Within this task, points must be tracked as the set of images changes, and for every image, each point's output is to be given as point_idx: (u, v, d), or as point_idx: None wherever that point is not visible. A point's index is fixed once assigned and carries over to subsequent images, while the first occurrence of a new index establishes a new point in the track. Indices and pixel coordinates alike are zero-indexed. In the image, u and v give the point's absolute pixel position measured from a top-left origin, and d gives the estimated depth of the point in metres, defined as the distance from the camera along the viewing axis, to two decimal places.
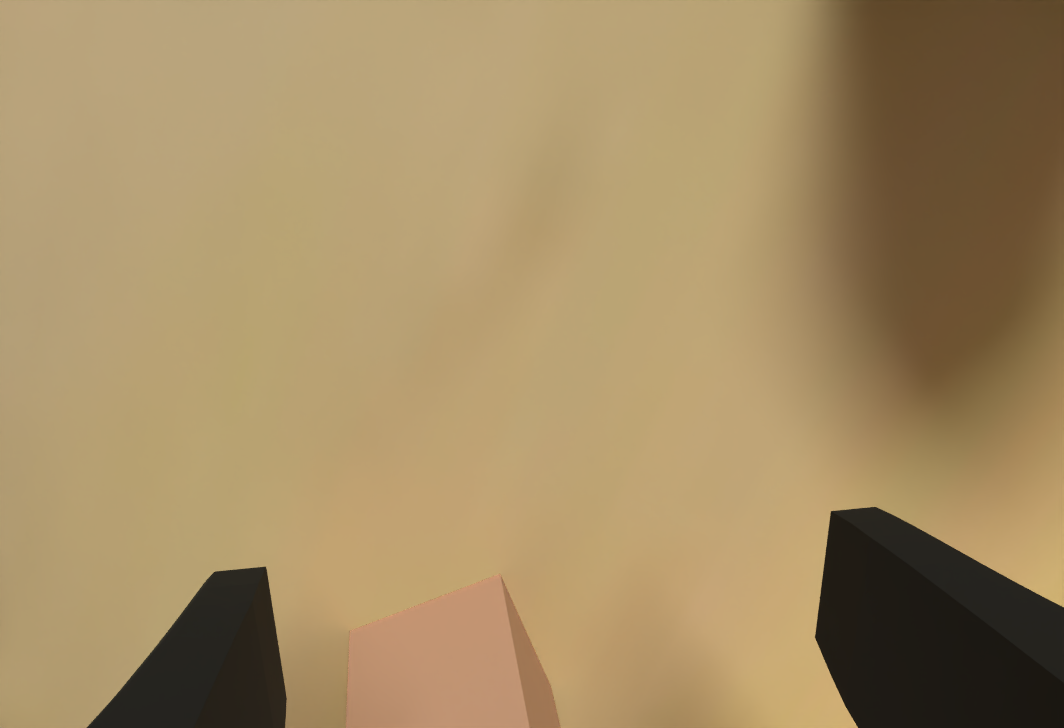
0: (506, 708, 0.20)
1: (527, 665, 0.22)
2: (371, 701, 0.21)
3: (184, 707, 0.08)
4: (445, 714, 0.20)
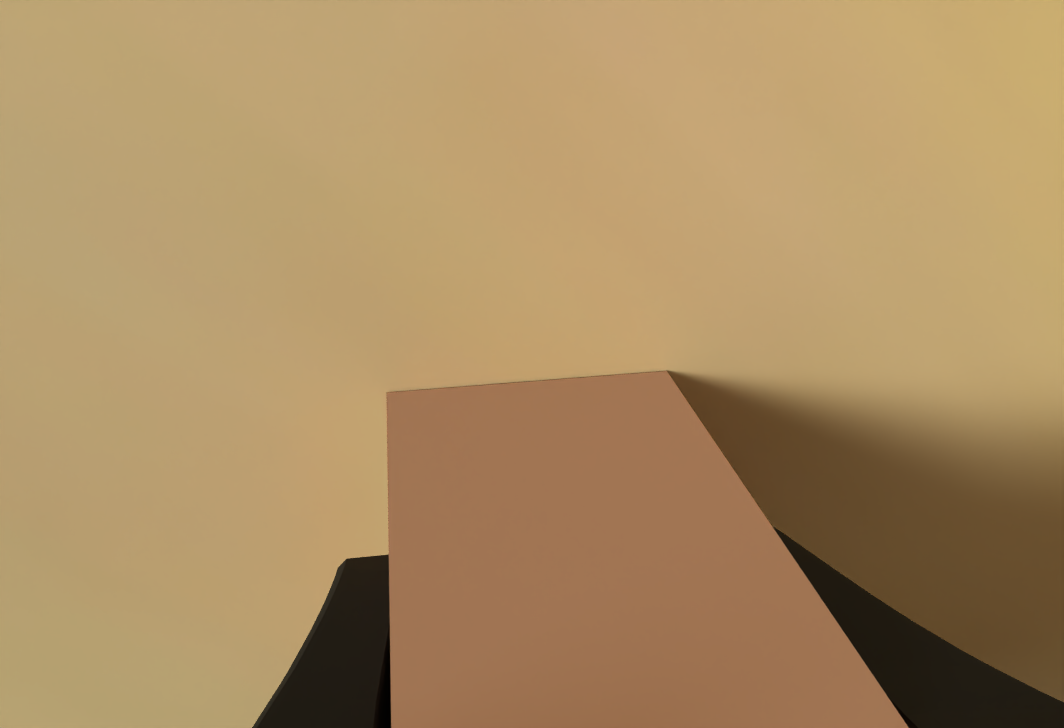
0: None
1: (485, 459, 0.11)
2: None
3: (359, 687, 0.09)
4: None
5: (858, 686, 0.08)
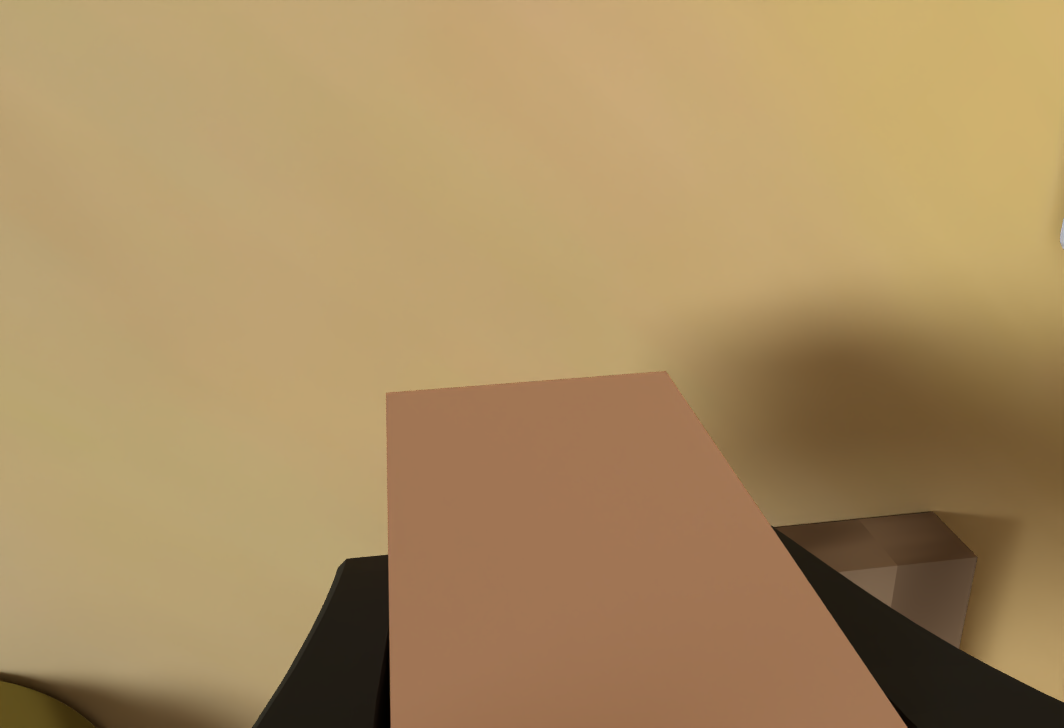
0: None
1: (484, 459, 0.11)
2: None
3: (360, 687, 0.09)
4: None
5: (857, 686, 0.08)
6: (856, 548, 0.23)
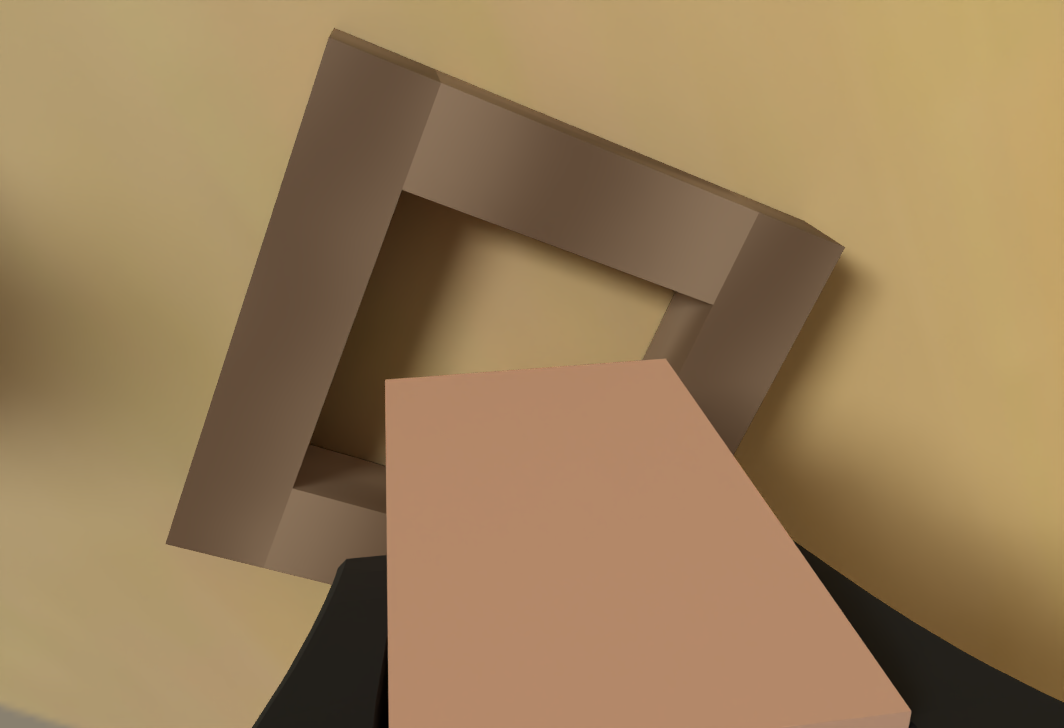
0: None
1: (483, 444, 0.11)
2: None
3: (359, 687, 0.09)
4: None
5: (857, 665, 0.08)
6: (717, 191, 0.19)
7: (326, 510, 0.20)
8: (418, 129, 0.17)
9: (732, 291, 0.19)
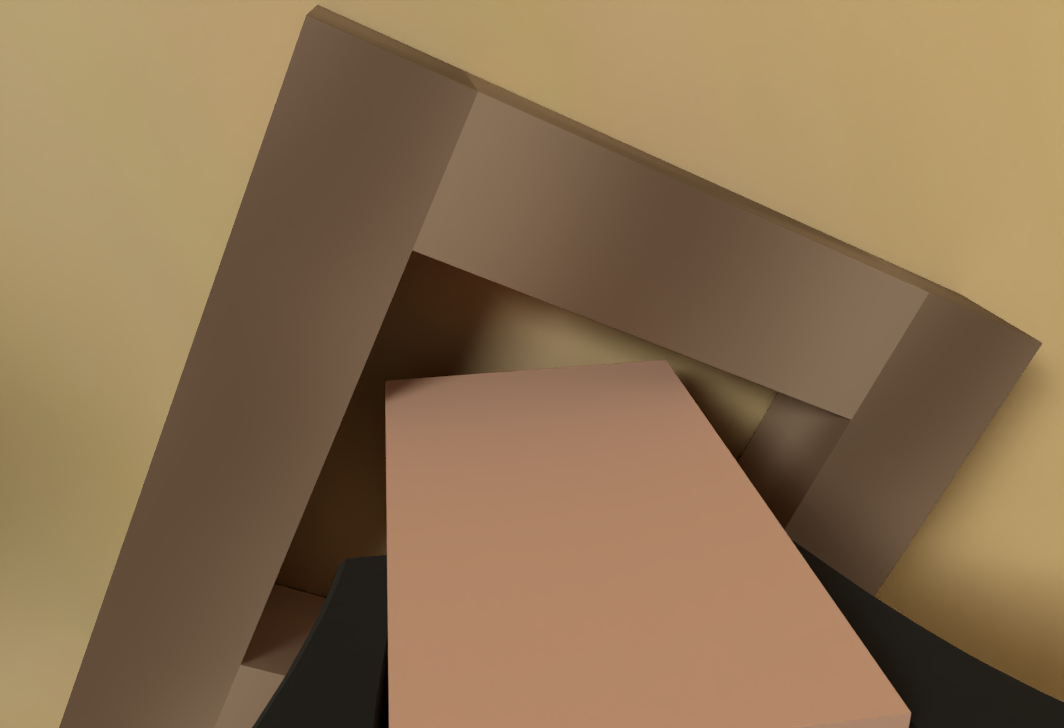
0: None
1: (483, 445, 0.11)
2: None
3: (360, 687, 0.09)
4: None
5: (857, 667, 0.08)
6: (863, 257, 0.13)
7: None
8: (440, 161, 0.11)
9: (880, 400, 0.13)
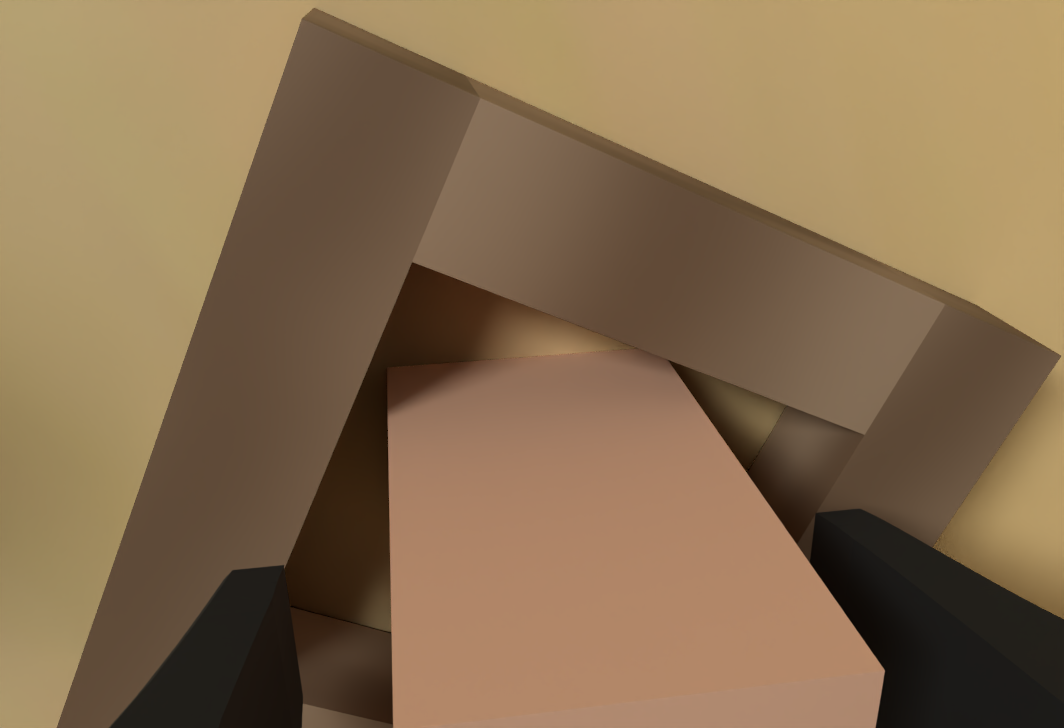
0: None
1: (482, 428, 0.12)
2: None
3: (209, 704, 0.08)
4: None
5: (835, 630, 0.08)
6: (876, 268, 0.13)
7: None
8: (441, 169, 0.11)
9: (894, 415, 0.13)
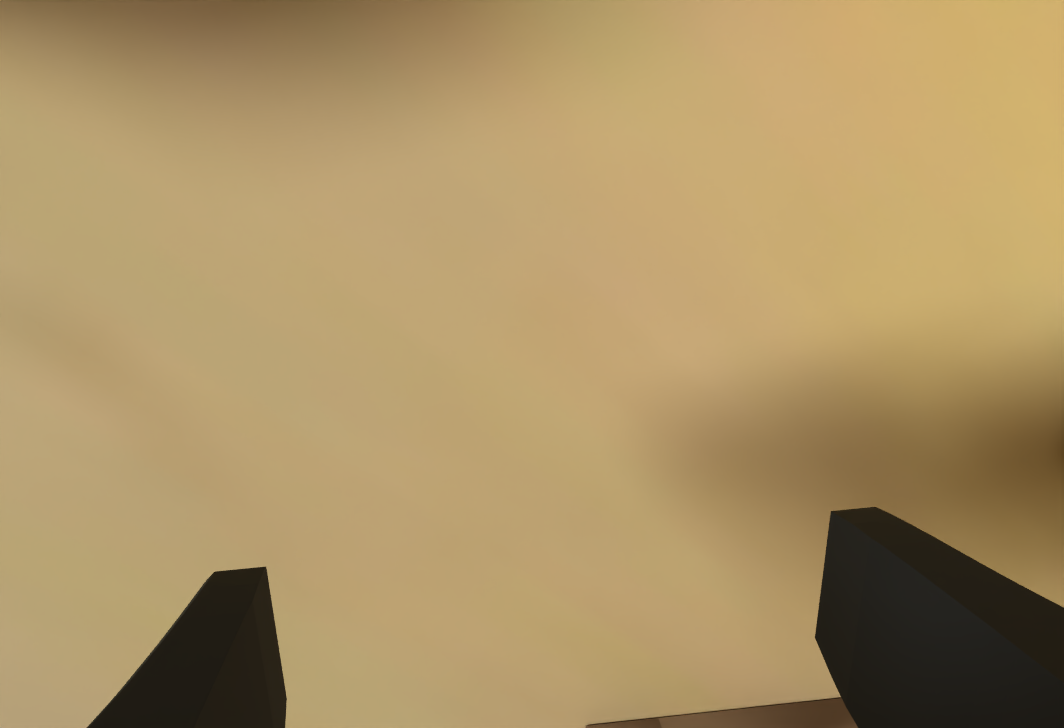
0: None
1: None
2: None
3: (184, 707, 0.08)
4: None
5: None
6: None
7: None
8: None
9: None
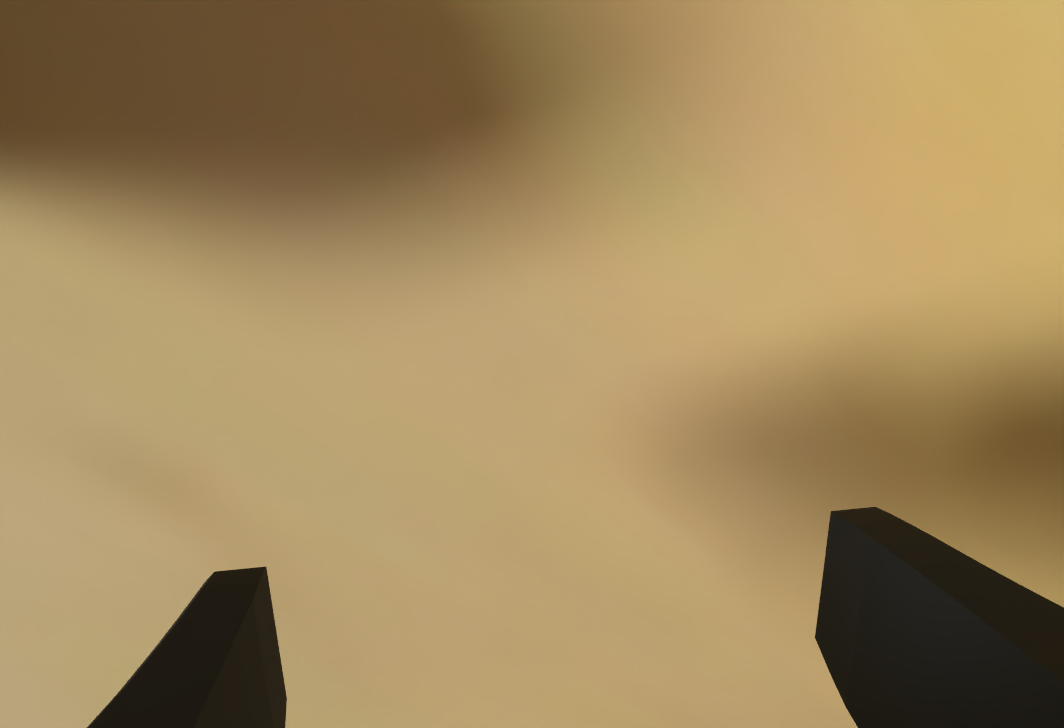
0: None
1: None
2: None
3: (184, 707, 0.08)
4: None
5: None
6: None
7: None
8: None
9: None
